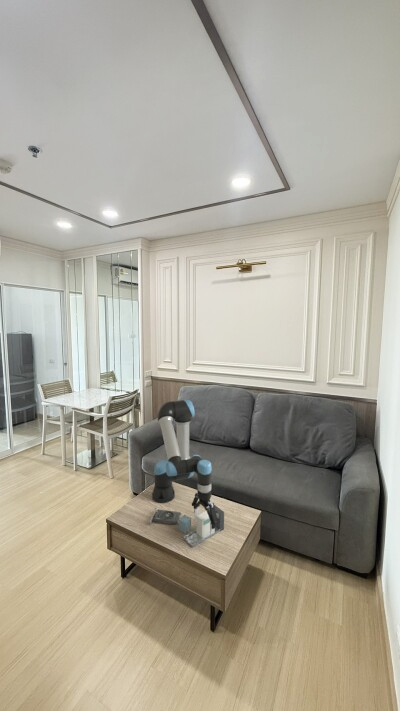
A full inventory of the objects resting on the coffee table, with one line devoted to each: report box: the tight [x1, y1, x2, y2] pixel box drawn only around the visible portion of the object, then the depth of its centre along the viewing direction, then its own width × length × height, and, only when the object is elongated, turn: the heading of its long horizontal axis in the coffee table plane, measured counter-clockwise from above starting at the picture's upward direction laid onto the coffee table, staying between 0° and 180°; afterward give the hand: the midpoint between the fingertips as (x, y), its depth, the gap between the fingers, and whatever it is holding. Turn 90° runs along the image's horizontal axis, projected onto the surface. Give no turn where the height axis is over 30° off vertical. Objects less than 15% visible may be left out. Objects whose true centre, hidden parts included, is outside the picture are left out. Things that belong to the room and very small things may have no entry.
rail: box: [183, 504, 225, 549], centre depth 158 cm, size 8×22×10 cm, turn 128°
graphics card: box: [149, 507, 182, 526], centre depth 169 cm, size 17×4×12 cm
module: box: [195, 510, 211, 538], centre depth 158 cm, size 5×7×10 cm
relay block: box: [178, 514, 192, 534], centre depth 162 cm, size 5×5×6 cm
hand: (204, 526), depth 158 cm, fingers open, 13 cm apart
